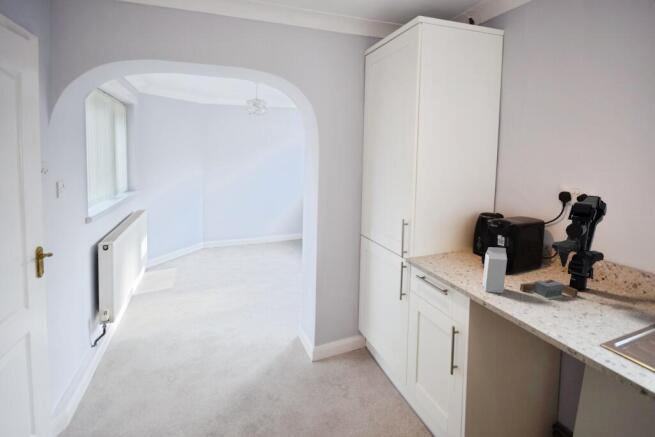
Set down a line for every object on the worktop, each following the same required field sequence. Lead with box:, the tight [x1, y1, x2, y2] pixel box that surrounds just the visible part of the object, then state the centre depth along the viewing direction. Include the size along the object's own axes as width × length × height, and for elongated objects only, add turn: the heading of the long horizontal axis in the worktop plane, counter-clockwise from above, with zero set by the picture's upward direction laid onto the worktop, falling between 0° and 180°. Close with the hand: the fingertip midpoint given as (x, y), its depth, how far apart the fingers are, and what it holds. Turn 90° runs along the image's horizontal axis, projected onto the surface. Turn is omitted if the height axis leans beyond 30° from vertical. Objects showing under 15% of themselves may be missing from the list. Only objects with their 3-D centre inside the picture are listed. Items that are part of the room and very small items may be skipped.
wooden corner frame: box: [519, 279, 579, 298], centre depth 160 cm, size 18×13×3 cm
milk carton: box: [482, 246, 508, 294], centre depth 162 cm, size 7×7×19 cm
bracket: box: [533, 280, 564, 299], centre depth 159 cm, size 9×6×5 cm, turn 108°
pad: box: [529, 290, 565, 300], centre depth 160 cm, size 9×9×1 cm
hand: (573, 270), depth 154 cm, fingers open, 9 cm apart
